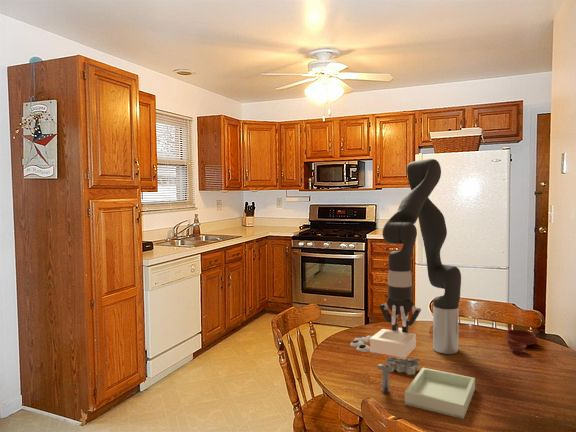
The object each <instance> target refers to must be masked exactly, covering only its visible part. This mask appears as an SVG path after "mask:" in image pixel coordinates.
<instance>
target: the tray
mask: <svg viewBox="0 0 576 432" xmlns="http://www.w3.org/2000/svg"><path fill="white" fill-rule="evenodd" d="M475 391H476V377H472V376H466V375H462V374H458V373H452V372H447V371H443V370H438V369H437V370H436V369H431V368H426V367H421V369H420V371H418V373H417V374H416V376H415V377H414V379H413V380H412V381H411V382H410V384H409V385H408V387H407V388H406V389H405V391H404V405H405V406H408V407H409V406H410V407H412V408H413V407H414V408H417V409H422V410H426V411H429V412H433V413H437V414H442V415H445V416H449V417H453V418H456V419H461V420H464V419H465V416H466V414H467V411H468V409H469V406H470V403H471V401H472V398H473V397H474V393H475Z"/></svg>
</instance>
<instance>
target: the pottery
mask: <svg viewBox="0 0 576 432" xmlns="http://www.w3.org/2000/svg"><path fill="white" fill-rule="evenodd" d="M504 339H505V340H506V341H509V342H507V346H508V347H509V348H510V350H511V351H512V353H513V354H522V352H523V351H524V350H525V349H526V348H527V347H529V346H530V345H534V344H535V345H536V344H538V343H539V342H538V341H539V340H538V339H537V338H536V334H535V333H534V332H532V331H528V330H523V329H509V330H507V331H506V335H505V336H504Z"/></svg>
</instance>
